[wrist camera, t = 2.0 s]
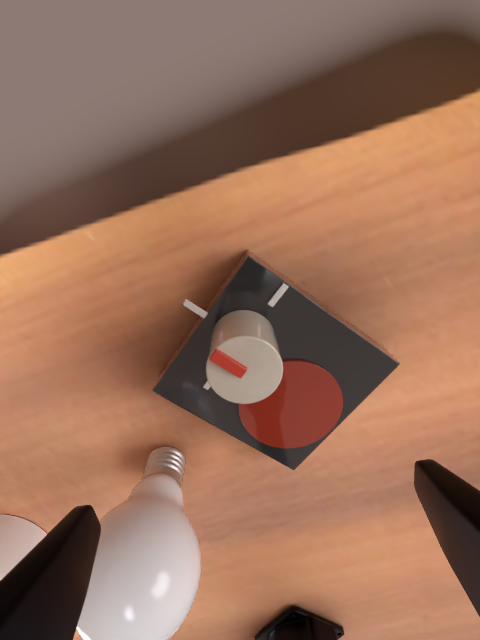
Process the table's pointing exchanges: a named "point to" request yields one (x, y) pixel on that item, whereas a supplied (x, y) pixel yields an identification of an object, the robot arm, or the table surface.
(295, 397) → the burner zone
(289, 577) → the table surface
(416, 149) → the table surface
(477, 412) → the table surface
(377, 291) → the table surface
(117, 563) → the lightbulb
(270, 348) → the hob knob
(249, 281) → the hob
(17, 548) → the cylindrical container
